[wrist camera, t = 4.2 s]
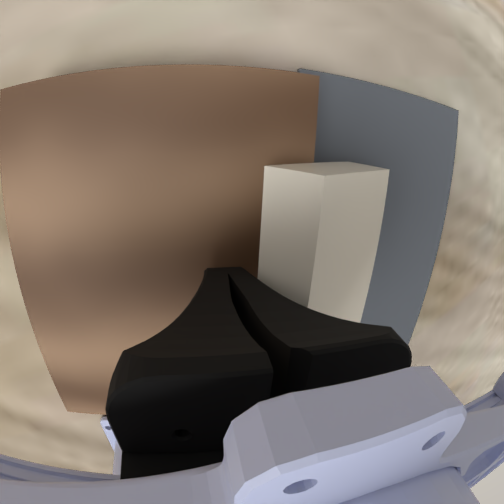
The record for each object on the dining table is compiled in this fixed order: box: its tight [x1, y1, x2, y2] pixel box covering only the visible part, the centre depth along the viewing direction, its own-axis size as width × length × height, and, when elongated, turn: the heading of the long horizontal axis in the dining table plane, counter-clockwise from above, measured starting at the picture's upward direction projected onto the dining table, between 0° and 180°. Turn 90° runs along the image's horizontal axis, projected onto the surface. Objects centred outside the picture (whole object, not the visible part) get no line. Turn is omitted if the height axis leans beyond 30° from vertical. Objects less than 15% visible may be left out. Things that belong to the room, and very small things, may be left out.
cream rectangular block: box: [258, 162, 390, 323], centre depth 12 cm, size 9×6×2 cm
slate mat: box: [298, 69, 458, 345], centre depth 18 cm, size 18×11×1 cm, turn 177°
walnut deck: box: [0, 65, 320, 415], centre depth 13 cm, size 16×12×4 cm
